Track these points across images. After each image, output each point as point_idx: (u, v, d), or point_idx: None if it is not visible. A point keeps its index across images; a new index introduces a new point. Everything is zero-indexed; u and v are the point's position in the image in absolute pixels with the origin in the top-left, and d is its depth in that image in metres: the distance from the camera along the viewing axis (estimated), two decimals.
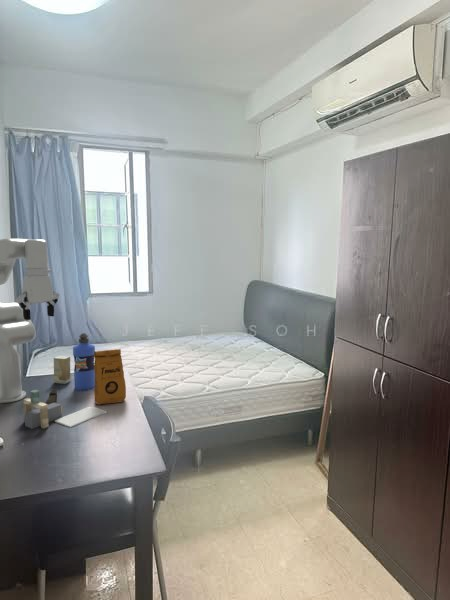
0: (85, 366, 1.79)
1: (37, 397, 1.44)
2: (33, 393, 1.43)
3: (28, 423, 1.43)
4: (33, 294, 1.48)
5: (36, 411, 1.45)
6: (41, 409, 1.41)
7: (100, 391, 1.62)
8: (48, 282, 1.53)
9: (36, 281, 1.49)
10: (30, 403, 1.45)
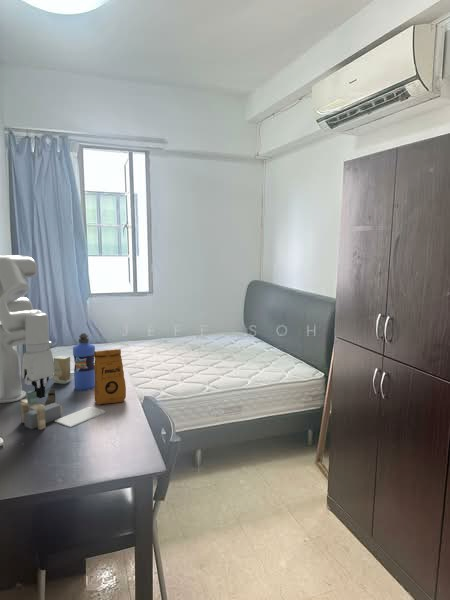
0: (85, 366, 1.79)
1: (34, 398, 1.43)
2: (30, 394, 1.42)
3: (27, 423, 1.43)
4: (34, 371, 1.41)
5: (35, 411, 1.45)
6: (38, 410, 1.40)
7: (100, 391, 1.62)
8: (49, 356, 1.46)
9: (37, 358, 1.41)
10: (27, 404, 1.44)
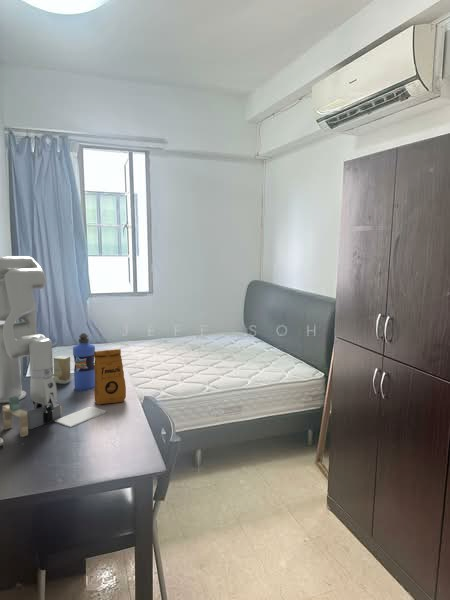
0: (85, 366, 1.79)
1: (16, 404, 1.38)
2: (12, 400, 1.37)
3: None
4: (31, 393, 1.47)
5: (35, 411, 1.45)
6: (20, 417, 1.35)
7: (100, 391, 1.62)
8: (41, 385, 1.43)
9: (32, 381, 1.45)
10: (9, 410, 1.38)
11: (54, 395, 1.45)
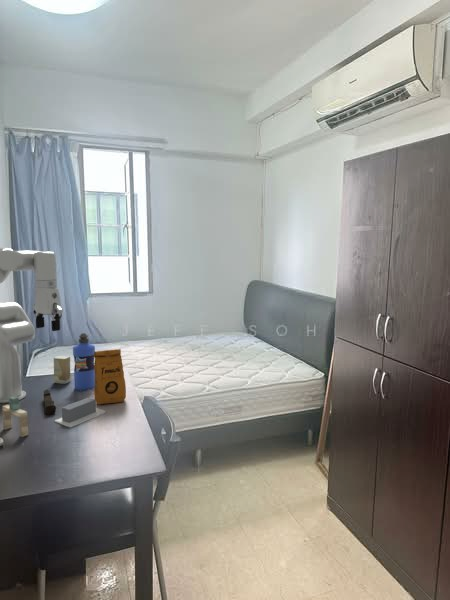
0: (85, 366, 1.79)
1: (16, 404, 1.38)
2: (12, 400, 1.37)
3: (65, 417, 1.47)
4: (36, 304, 1.53)
5: (73, 405, 1.49)
6: (20, 417, 1.35)
7: (100, 391, 1.62)
8: (45, 295, 1.49)
9: (37, 292, 1.52)
10: (9, 410, 1.38)
11: None
